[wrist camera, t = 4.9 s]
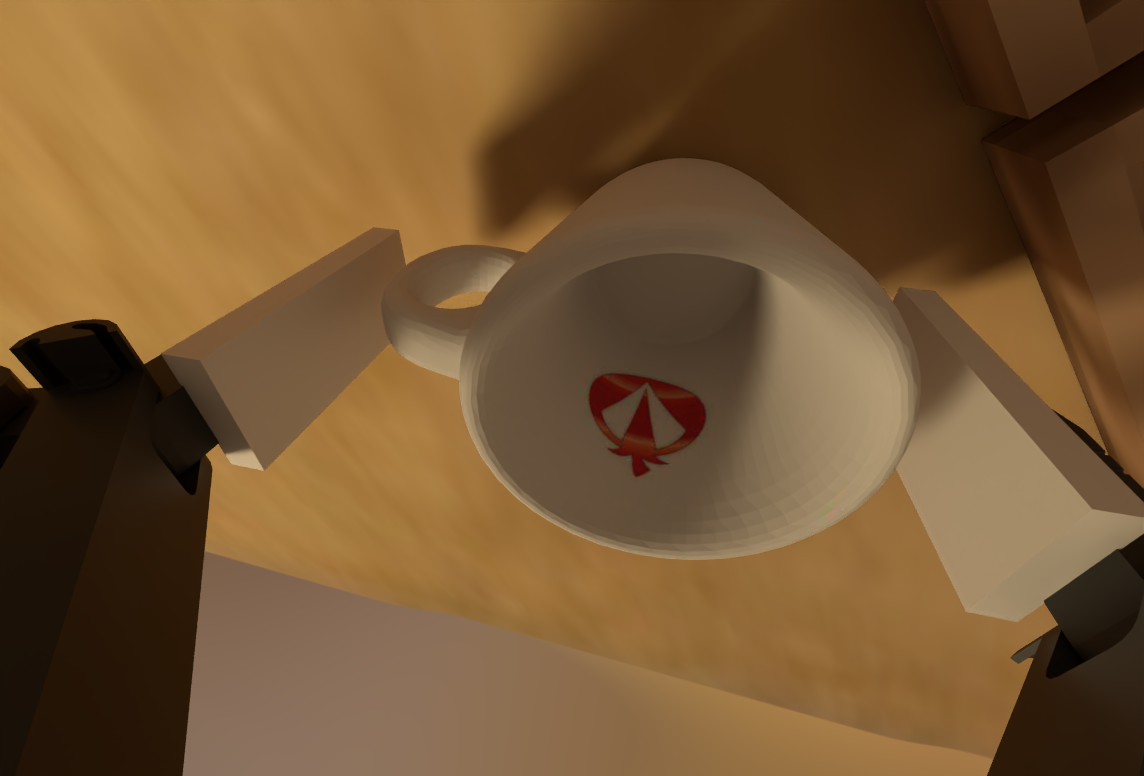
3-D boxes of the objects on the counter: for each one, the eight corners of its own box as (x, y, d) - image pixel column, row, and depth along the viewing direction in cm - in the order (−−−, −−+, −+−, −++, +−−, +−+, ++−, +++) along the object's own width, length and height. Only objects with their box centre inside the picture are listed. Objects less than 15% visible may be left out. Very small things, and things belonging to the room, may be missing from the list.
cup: (472, 329, 17) (355, 492, 11) (462, 83, 12) (237, 133, 6) (752, 386, 16) (793, 597, 10) (866, 146, 11) (1082, 278, 5)
